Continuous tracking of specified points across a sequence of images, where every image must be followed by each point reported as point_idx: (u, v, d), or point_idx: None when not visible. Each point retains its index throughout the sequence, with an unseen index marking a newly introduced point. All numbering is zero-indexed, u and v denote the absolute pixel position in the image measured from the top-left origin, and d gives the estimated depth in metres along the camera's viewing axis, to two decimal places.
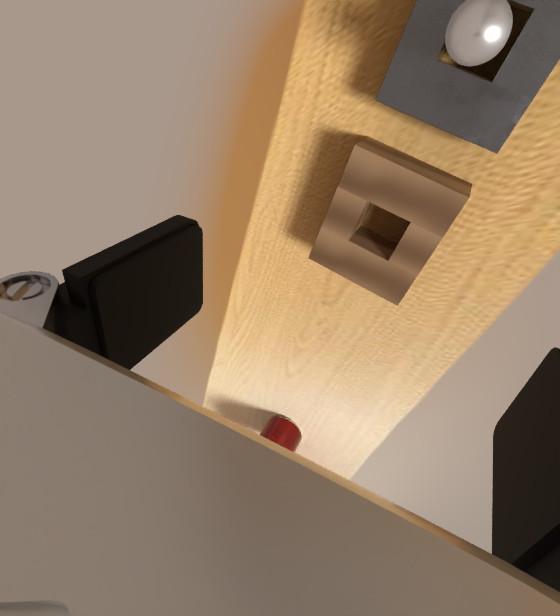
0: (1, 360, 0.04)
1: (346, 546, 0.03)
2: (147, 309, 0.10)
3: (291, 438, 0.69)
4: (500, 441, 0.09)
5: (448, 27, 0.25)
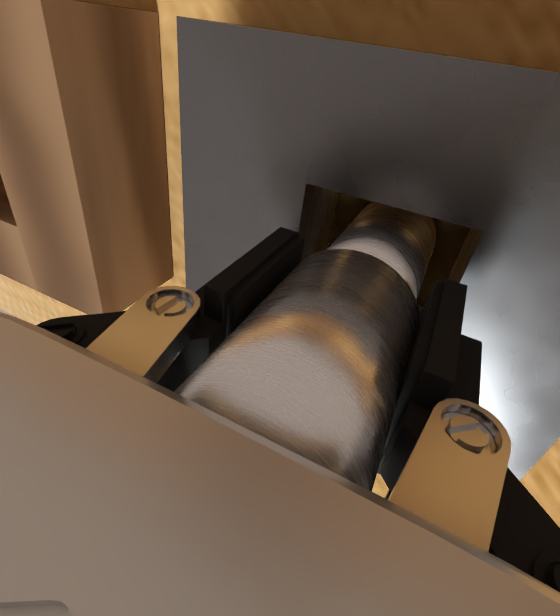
0: (1, 360, 0.04)
1: (346, 546, 0.03)
2: None
3: None
4: None
5: None
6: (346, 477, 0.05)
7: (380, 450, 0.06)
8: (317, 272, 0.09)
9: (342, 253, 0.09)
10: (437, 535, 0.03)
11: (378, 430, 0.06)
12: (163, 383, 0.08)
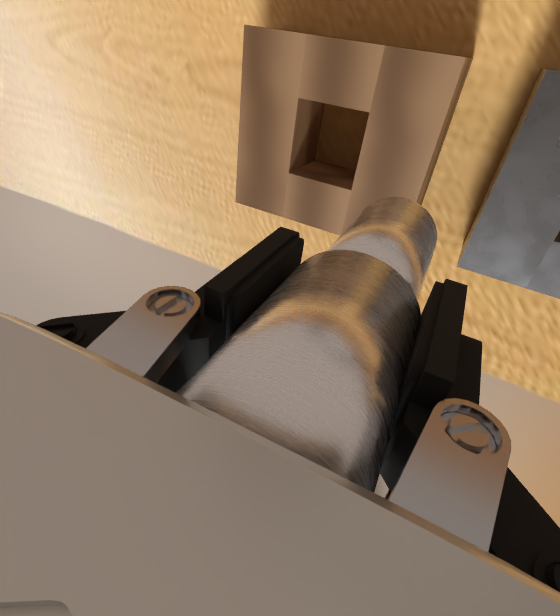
0: (1, 360, 0.04)
1: (346, 546, 0.03)
2: None
3: None
4: None
5: None
6: None
7: (382, 452, 0.06)
8: (318, 273, 0.08)
9: (343, 254, 0.09)
10: (437, 535, 0.03)
11: (380, 432, 0.06)
12: (163, 383, 0.08)
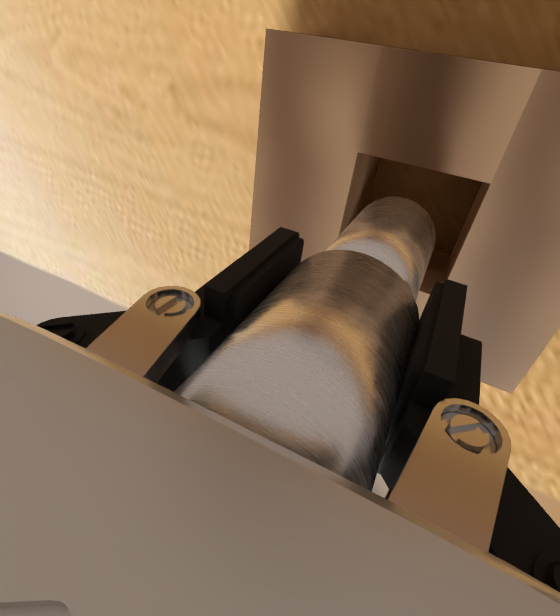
0: (1, 360, 0.04)
1: (346, 546, 0.03)
2: None
3: None
4: None
5: None
6: None
7: (379, 453, 0.06)
8: (316, 273, 0.08)
9: (341, 254, 0.09)
10: (437, 535, 0.03)
11: (377, 432, 0.06)
12: (163, 383, 0.08)
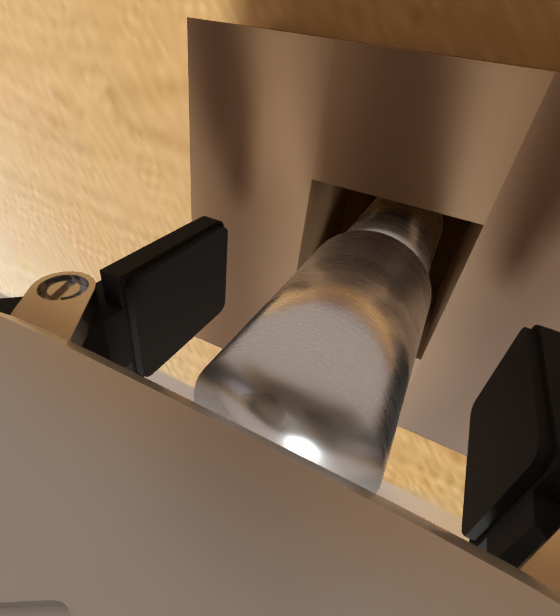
0: (1, 360, 0.04)
1: (346, 546, 0.03)
2: (176, 308, 0.10)
3: None
4: (475, 418, 0.09)
5: (272, 363, 0.06)
6: (379, 406, 0.06)
7: (403, 394, 0.07)
8: (342, 249, 0.10)
9: (362, 233, 0.10)
10: (437, 535, 0.03)
11: (401, 376, 0.07)
12: None
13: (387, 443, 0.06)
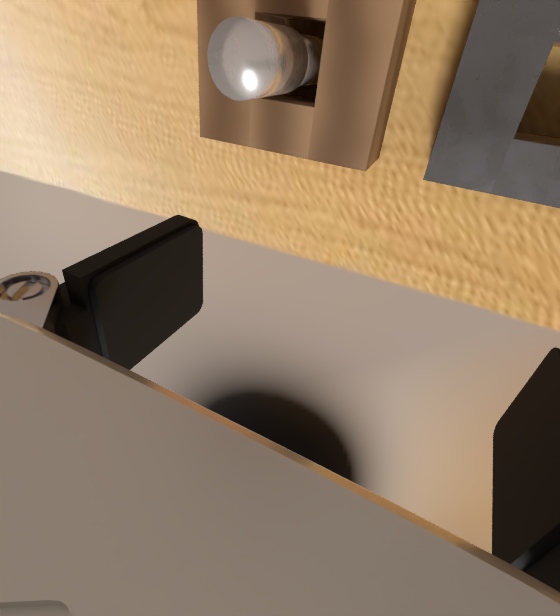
0: (1, 360, 0.04)
1: (346, 546, 0.03)
2: (147, 309, 0.10)
3: None
4: (500, 441, 0.09)
5: (232, 19, 0.20)
6: (267, 36, 0.20)
7: (281, 52, 0.21)
8: None
9: None
10: (437, 535, 0.03)
11: (280, 44, 0.21)
12: None
13: (270, 48, 0.20)
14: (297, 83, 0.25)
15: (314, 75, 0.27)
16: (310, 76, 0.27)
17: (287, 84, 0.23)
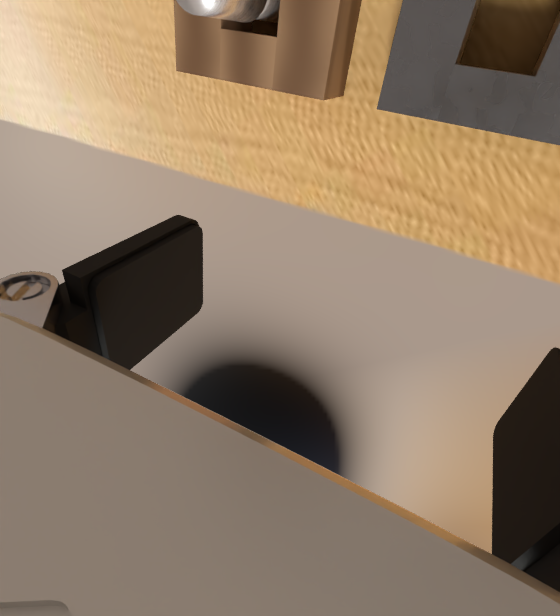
0: (1, 360, 0.04)
1: (346, 546, 0.03)
2: (147, 309, 0.10)
3: None
4: (500, 441, 0.09)
5: None
6: None
7: None
8: None
9: None
10: (437, 535, 0.03)
11: None
12: None
13: None
14: (258, 9, 0.27)
15: (279, 8, 0.29)
16: (274, 8, 0.29)
17: (246, 7, 0.25)
